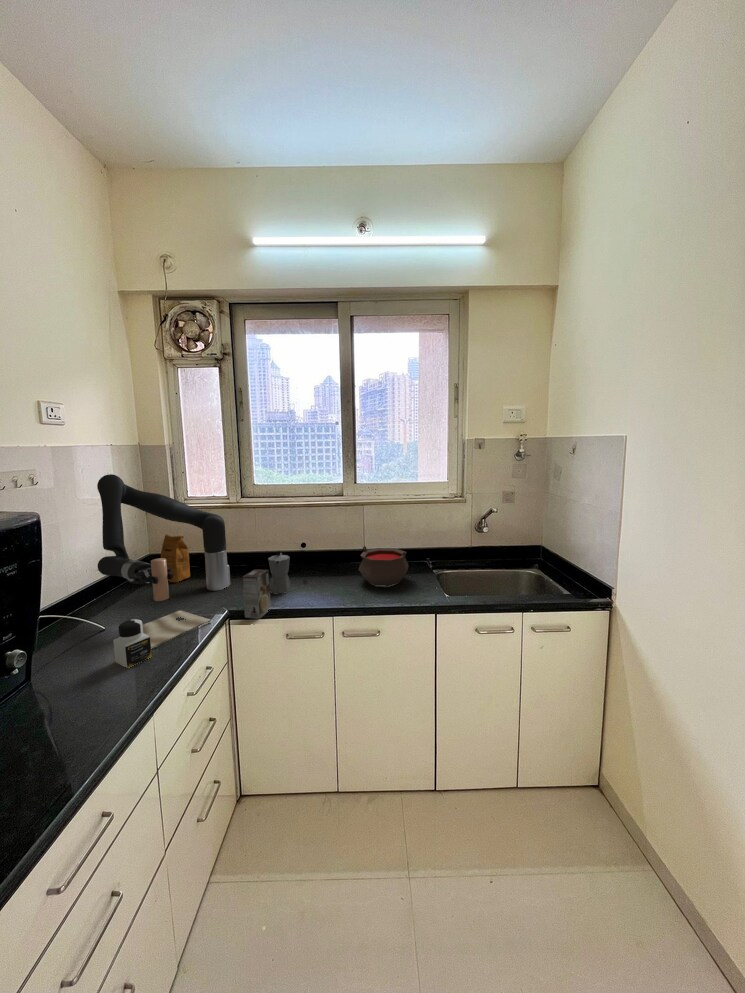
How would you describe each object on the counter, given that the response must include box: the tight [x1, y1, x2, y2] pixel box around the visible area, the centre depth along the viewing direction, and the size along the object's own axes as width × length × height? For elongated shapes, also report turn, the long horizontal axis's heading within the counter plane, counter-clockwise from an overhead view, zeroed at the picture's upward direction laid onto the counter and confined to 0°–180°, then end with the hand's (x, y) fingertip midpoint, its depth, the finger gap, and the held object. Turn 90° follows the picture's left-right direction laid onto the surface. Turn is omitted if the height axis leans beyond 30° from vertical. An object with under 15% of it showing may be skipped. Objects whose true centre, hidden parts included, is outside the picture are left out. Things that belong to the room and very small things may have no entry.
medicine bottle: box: [113, 618, 153, 669], centre depth 117 cm, size 7×7×12 cm
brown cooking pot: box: [358, 544, 409, 586], centre depth 181 cm, size 24×24×16 cm
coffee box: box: [242, 568, 272, 620], centre depth 149 cm, size 9×6×16 cm
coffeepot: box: [267, 550, 292, 594], centre depth 173 cm, size 15×9×18 cm, turn 8°
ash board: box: [142, 610, 211, 649], centre depth 137 cm, size 22×18×1 cm
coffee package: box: [160, 534, 191, 583], centre depth 190 cm, size 10×12×22 cm
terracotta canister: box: [150, 557, 170, 602], centre depth 138 cm, size 5×5×14 cm
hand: (164, 578), depth 137 cm, fingers closed on terracotta canister, 4 cm apart
